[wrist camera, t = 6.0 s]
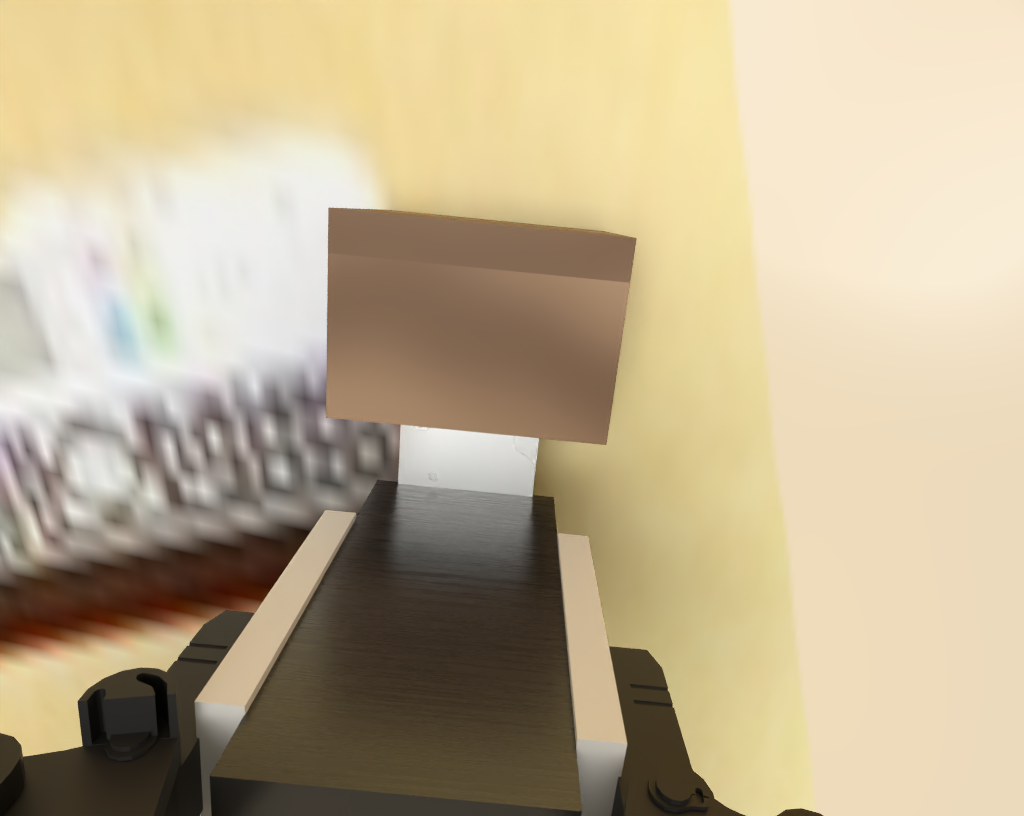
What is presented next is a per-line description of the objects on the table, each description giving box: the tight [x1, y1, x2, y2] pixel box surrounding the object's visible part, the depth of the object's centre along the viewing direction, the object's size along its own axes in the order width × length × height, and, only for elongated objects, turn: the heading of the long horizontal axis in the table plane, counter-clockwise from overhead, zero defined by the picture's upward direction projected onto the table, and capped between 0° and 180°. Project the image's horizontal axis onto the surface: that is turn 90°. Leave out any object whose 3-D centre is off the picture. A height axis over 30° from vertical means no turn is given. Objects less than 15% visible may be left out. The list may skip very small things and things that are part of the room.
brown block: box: [326, 208, 636, 445], centre depth 18 cm, size 5×7×6 cm
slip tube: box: [209, 425, 582, 816], centre depth 17 cm, size 22×5×14 cm, turn 174°
